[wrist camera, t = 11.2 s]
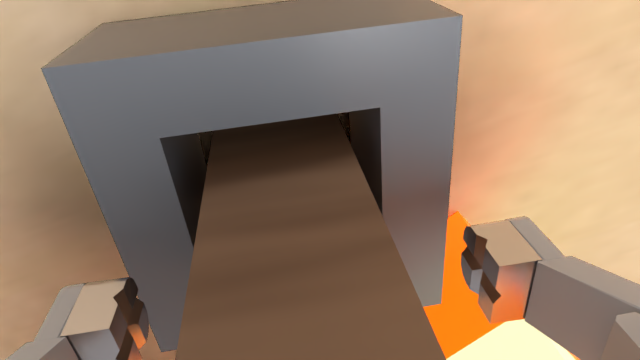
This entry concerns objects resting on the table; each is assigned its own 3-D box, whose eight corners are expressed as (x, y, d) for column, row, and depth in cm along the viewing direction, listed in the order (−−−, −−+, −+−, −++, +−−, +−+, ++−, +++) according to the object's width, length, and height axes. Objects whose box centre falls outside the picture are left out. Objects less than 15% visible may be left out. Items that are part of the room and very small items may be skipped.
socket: (402, -13, 15) (462, 15, 11) (401, 222, 20) (441, 303, 16) (102, 23, 14) (41, 68, 10) (180, 257, 20) (161, 352, 15)
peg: (217, 102, 16) (165, 414, 6) (325, 88, 17) (448, 363, 6) (237, 193, 18) (224, 540, 8) (333, 179, 19) (435, 497, 8)
